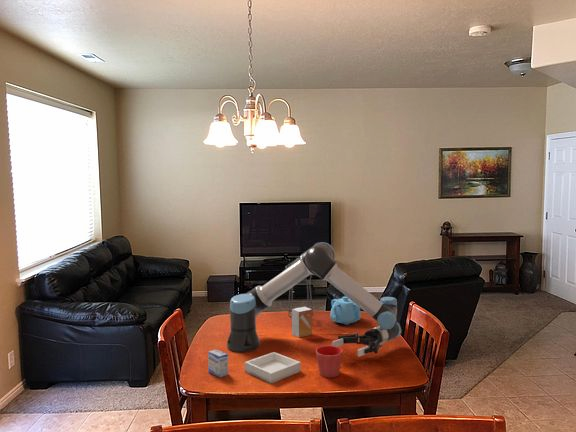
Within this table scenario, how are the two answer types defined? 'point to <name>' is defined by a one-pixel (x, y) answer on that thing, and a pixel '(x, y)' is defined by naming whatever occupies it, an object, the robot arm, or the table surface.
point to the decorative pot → (344, 311)
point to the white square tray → (272, 367)
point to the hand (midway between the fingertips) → (345, 349)
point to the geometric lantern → (300, 284)
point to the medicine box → (218, 363)
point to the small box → (302, 321)
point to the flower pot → (329, 360)
